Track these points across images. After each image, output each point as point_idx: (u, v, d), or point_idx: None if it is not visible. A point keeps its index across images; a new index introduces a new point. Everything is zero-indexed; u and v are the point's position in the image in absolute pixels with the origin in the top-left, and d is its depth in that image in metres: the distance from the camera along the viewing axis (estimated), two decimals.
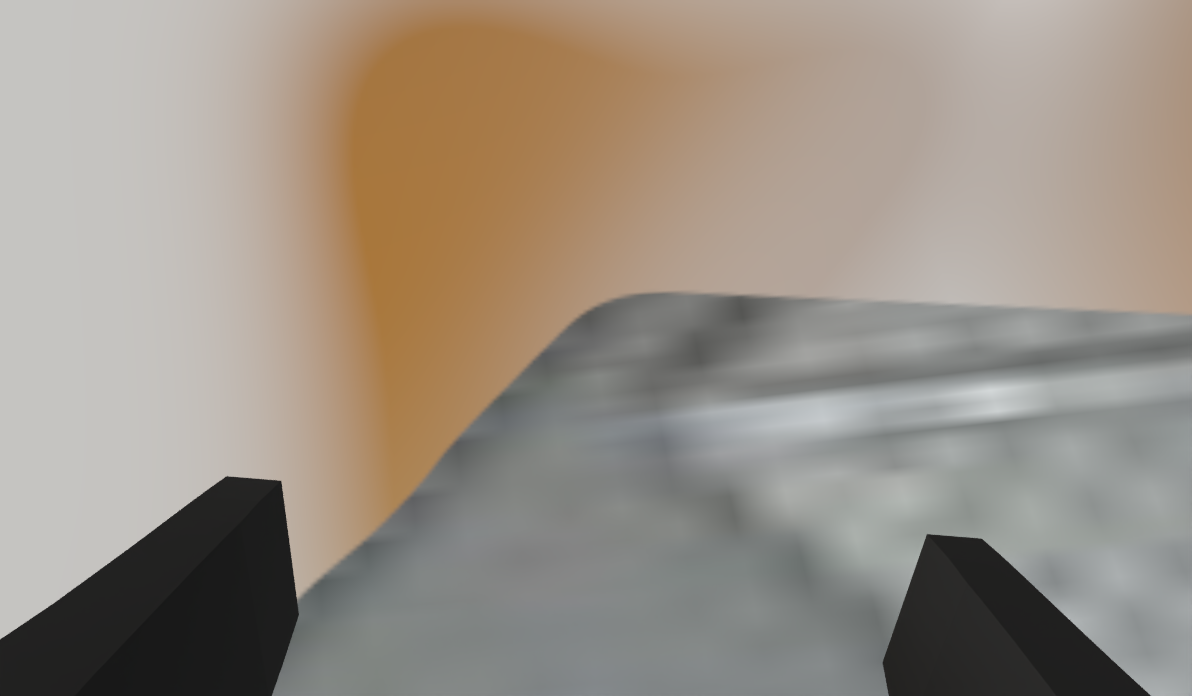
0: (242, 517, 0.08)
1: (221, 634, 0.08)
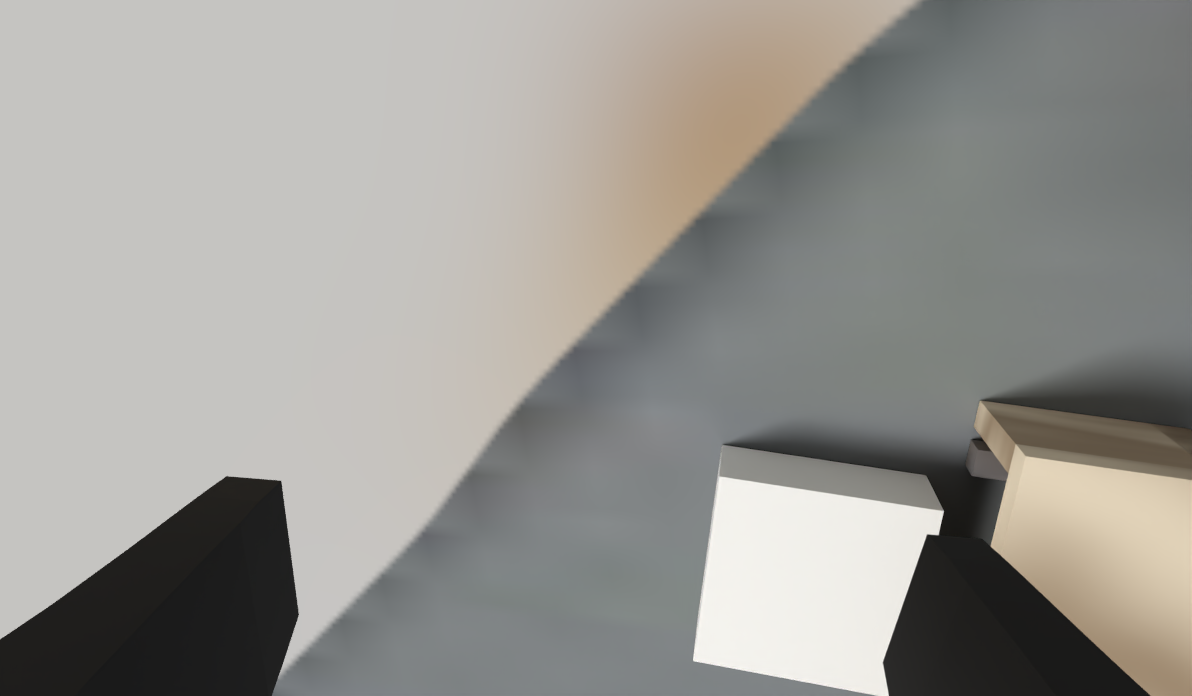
0: (242, 517, 0.08)
1: (221, 634, 0.08)
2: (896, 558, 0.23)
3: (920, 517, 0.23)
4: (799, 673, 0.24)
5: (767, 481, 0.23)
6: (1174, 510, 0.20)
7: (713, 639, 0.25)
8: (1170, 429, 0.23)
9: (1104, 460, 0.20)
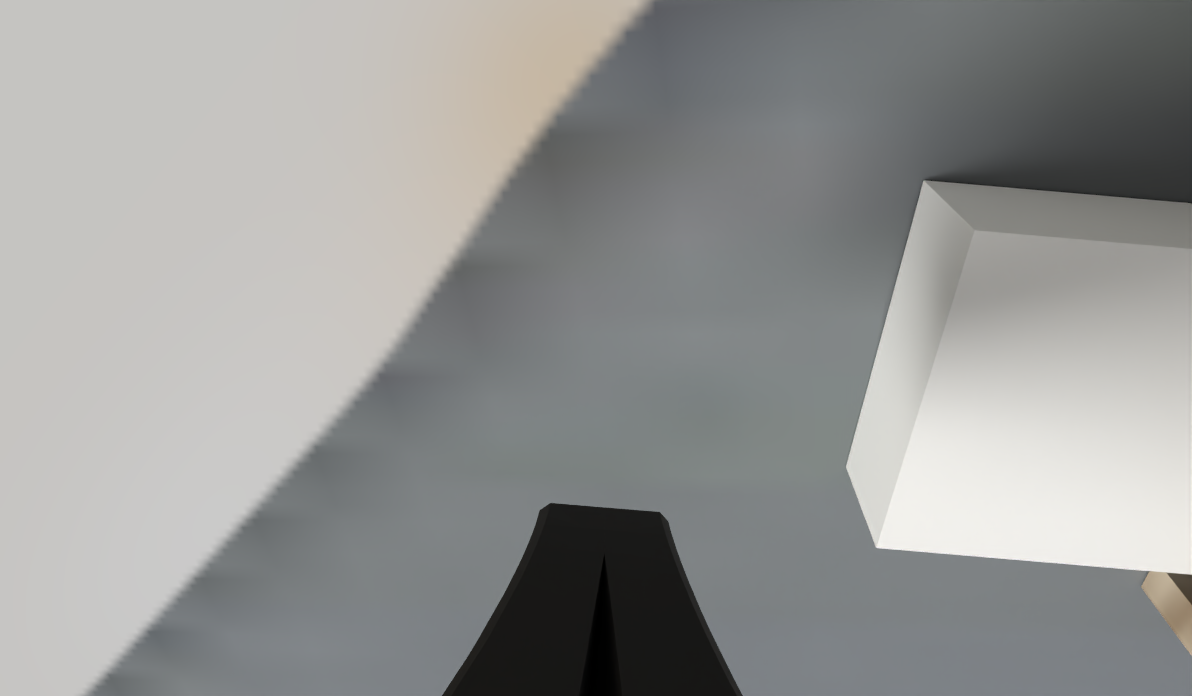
0: (602, 546, 0.08)
1: (590, 664, 0.08)
2: None
3: None
4: (1051, 551, 0.15)
5: (1061, 234, 0.12)
6: None
7: (916, 513, 0.15)
8: None
9: None
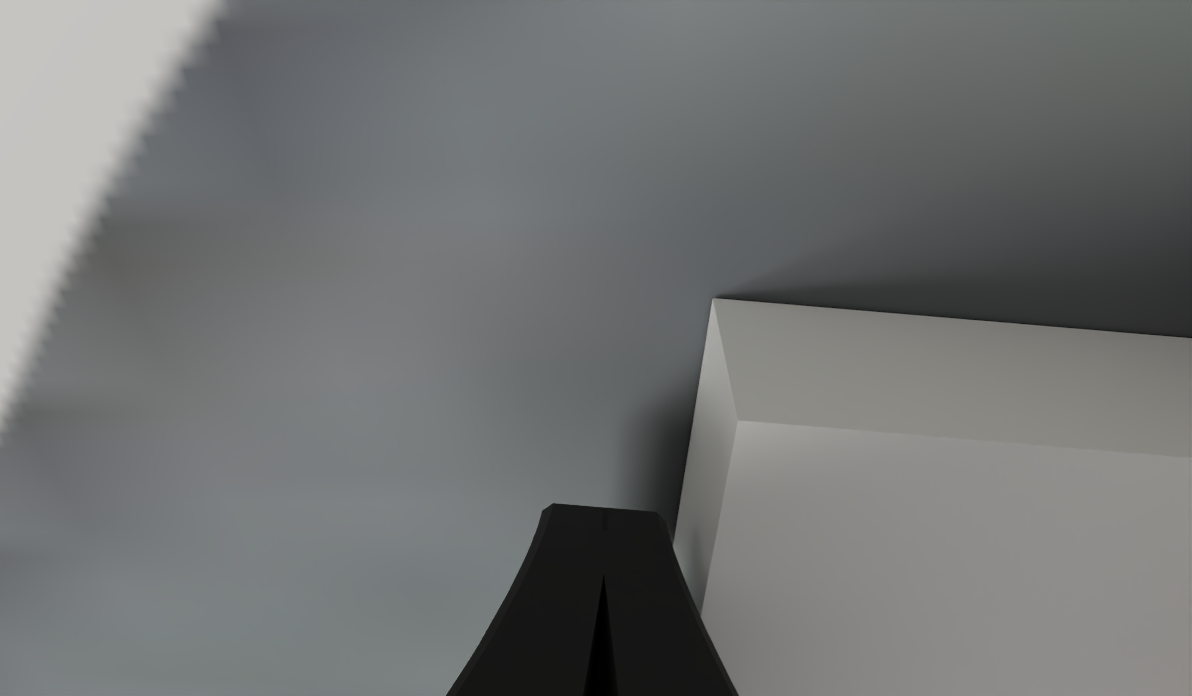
0: (605, 547, 0.08)
1: (593, 664, 0.08)
2: None
3: None
4: None
5: (890, 422, 0.07)
6: None
7: None
8: None
9: None
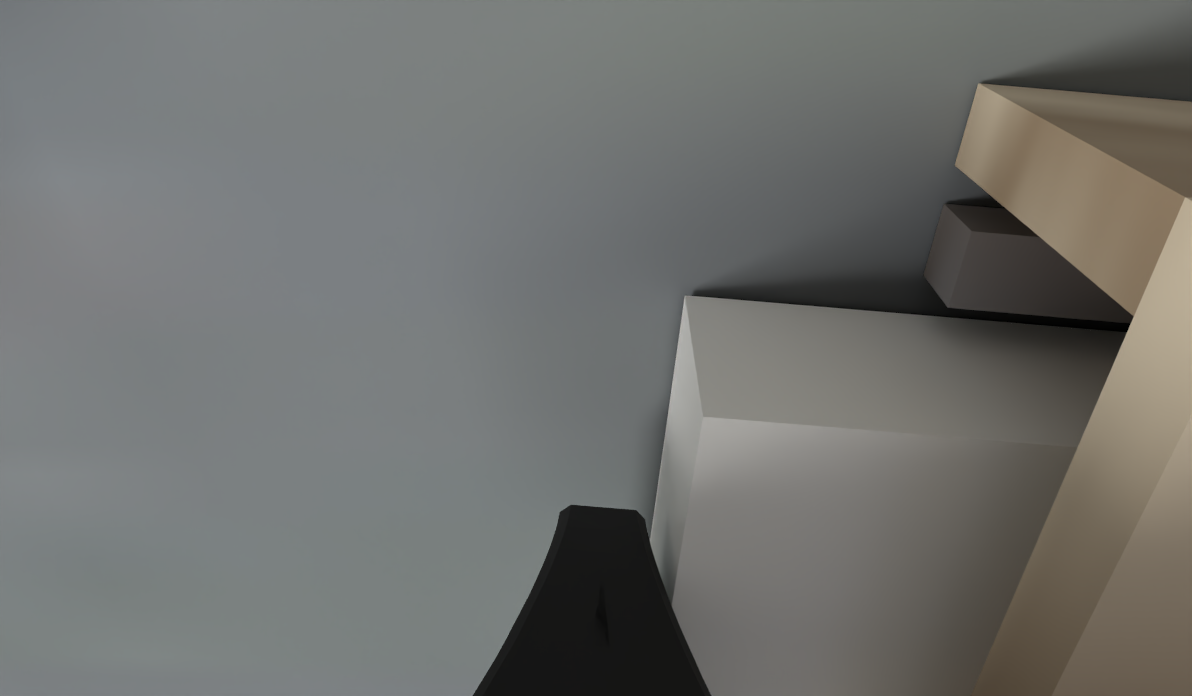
0: (625, 548, 0.08)
1: None
2: None
3: None
4: None
5: (856, 418, 0.07)
6: None
7: None
8: None
9: None
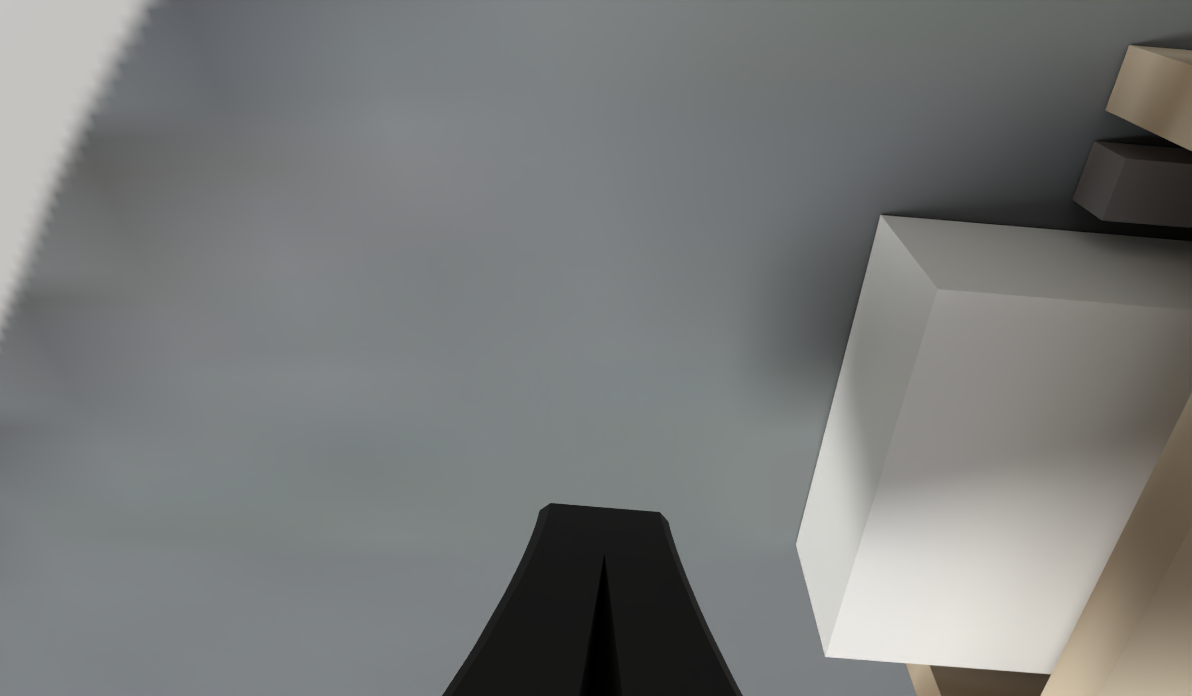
0: (602, 546, 0.08)
1: (590, 664, 0.08)
2: None
3: None
4: (1036, 661, 0.12)
5: (1048, 292, 0.10)
6: None
7: (872, 618, 0.12)
8: None
9: None
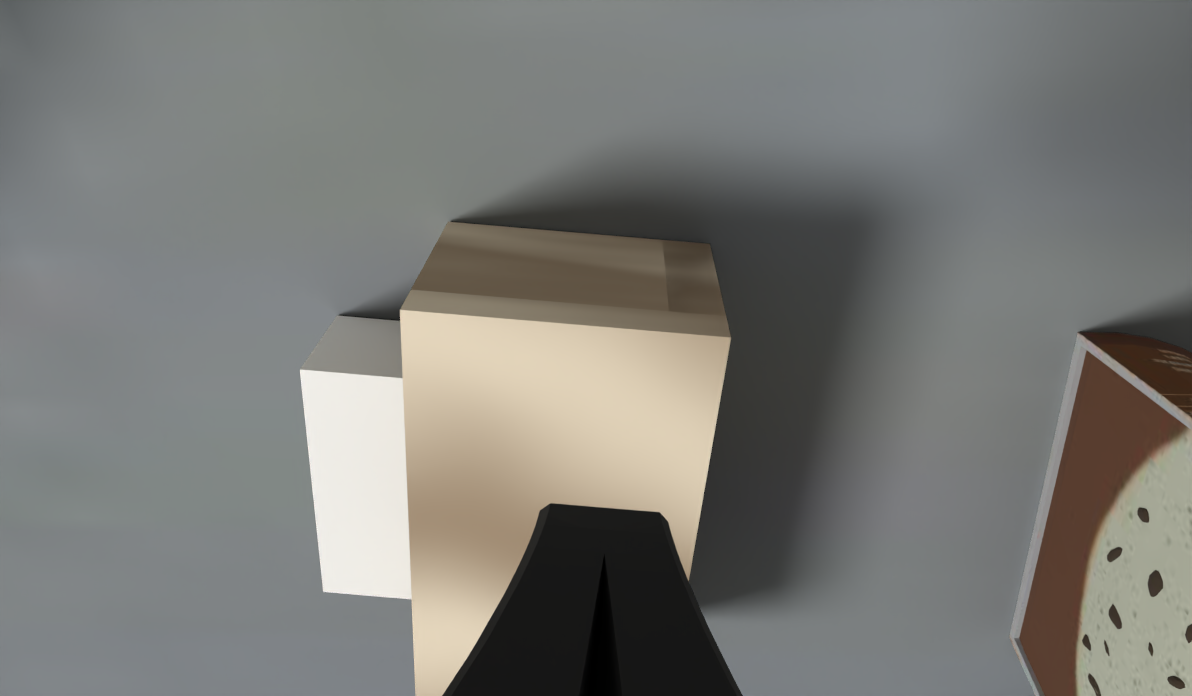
0: (603, 546, 0.08)
1: (590, 664, 0.08)
2: None
3: None
4: None
5: (369, 371, 0.17)
6: (604, 369, 0.14)
7: (342, 566, 0.19)
8: (681, 246, 0.17)
9: (521, 305, 0.14)
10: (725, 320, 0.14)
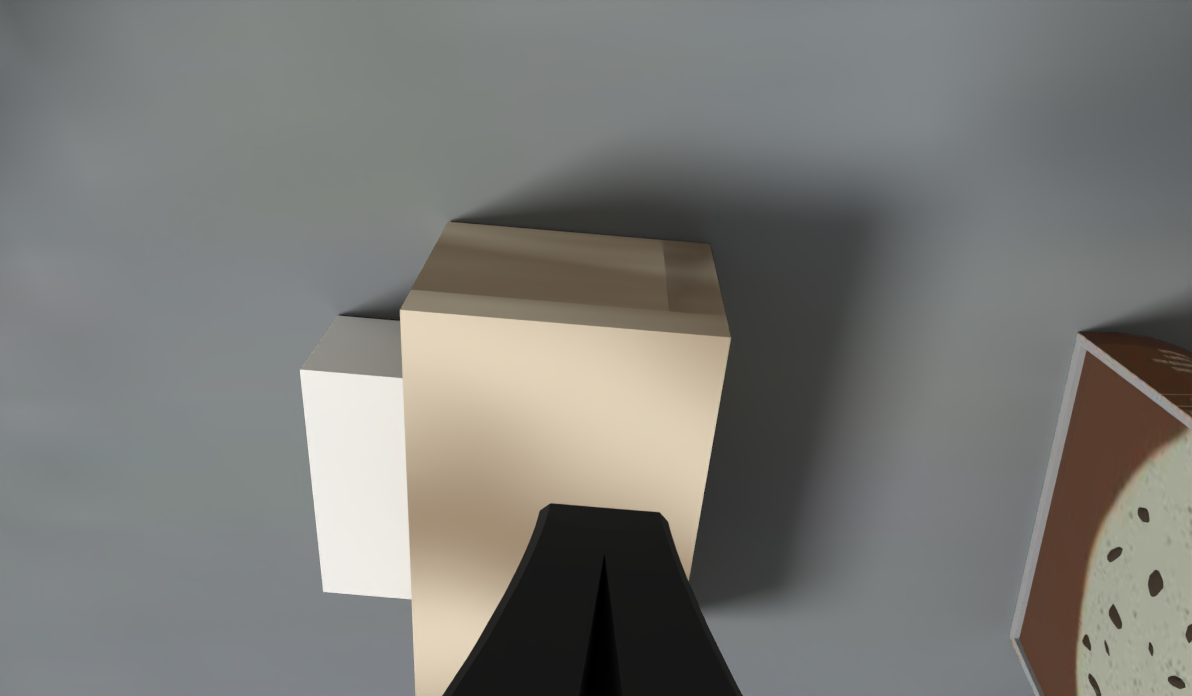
0: (603, 546, 0.08)
1: (590, 664, 0.08)
2: None
3: None
4: None
5: (369, 371, 0.17)
6: (604, 369, 0.14)
7: (342, 566, 0.19)
8: (681, 246, 0.17)
9: (521, 305, 0.14)
10: (725, 320, 0.14)
